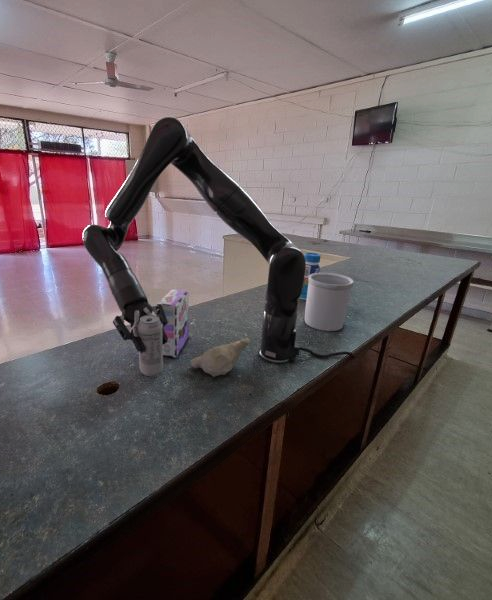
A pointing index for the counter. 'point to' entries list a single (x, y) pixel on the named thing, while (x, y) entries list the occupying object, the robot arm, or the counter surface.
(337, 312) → the utensil holder
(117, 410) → the counter surface
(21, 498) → the counter surface
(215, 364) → the beige lumpy piece
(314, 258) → the beverage bottle
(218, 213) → the robot arm
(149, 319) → the energy drink can
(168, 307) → the candy box
